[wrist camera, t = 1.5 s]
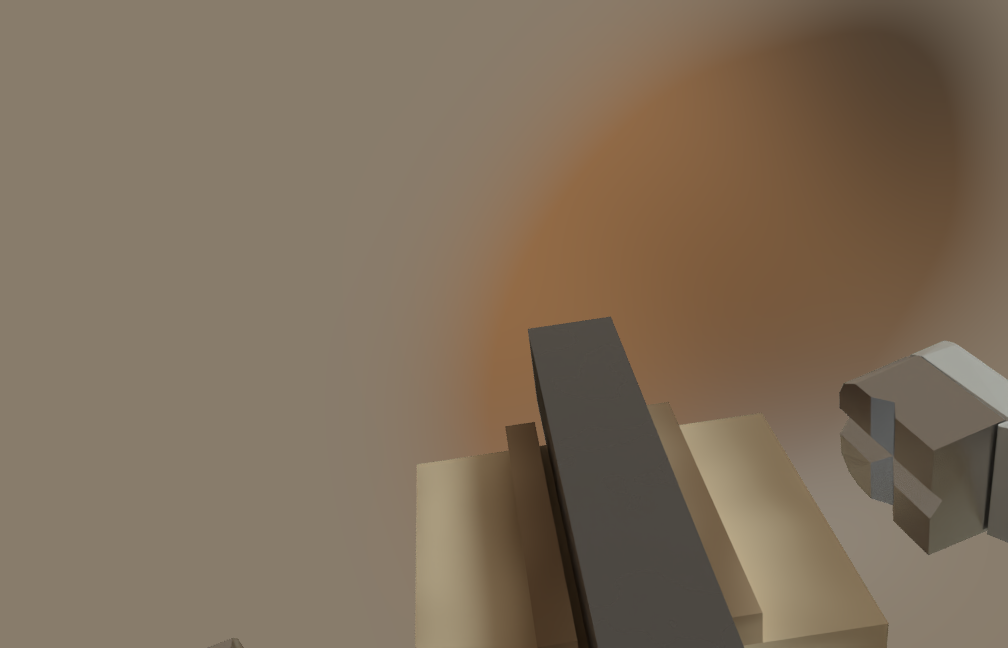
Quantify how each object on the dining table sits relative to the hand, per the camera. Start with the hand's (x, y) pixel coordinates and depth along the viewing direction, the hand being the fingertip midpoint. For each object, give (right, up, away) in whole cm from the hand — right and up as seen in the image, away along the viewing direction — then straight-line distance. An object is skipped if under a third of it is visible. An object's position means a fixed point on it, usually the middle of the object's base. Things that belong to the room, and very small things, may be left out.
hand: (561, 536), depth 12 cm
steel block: (+3, -5, +14) cm, 15 cm away
